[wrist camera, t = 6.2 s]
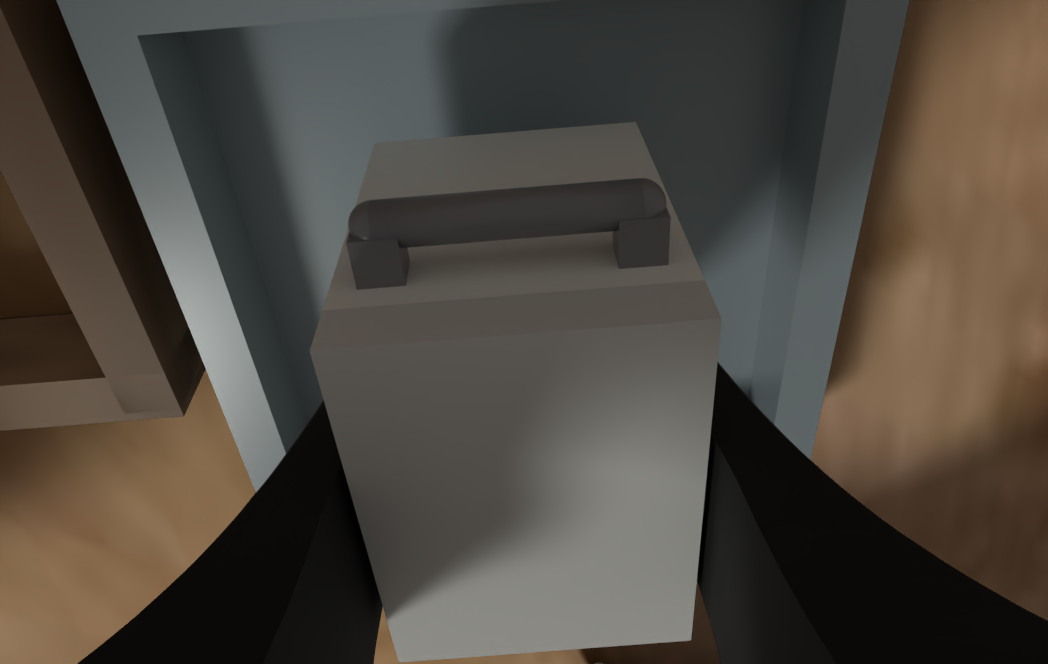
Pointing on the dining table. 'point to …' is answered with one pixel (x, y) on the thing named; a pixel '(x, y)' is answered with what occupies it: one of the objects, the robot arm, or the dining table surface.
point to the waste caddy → (522, 392)
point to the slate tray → (483, 108)
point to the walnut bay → (81, 249)
